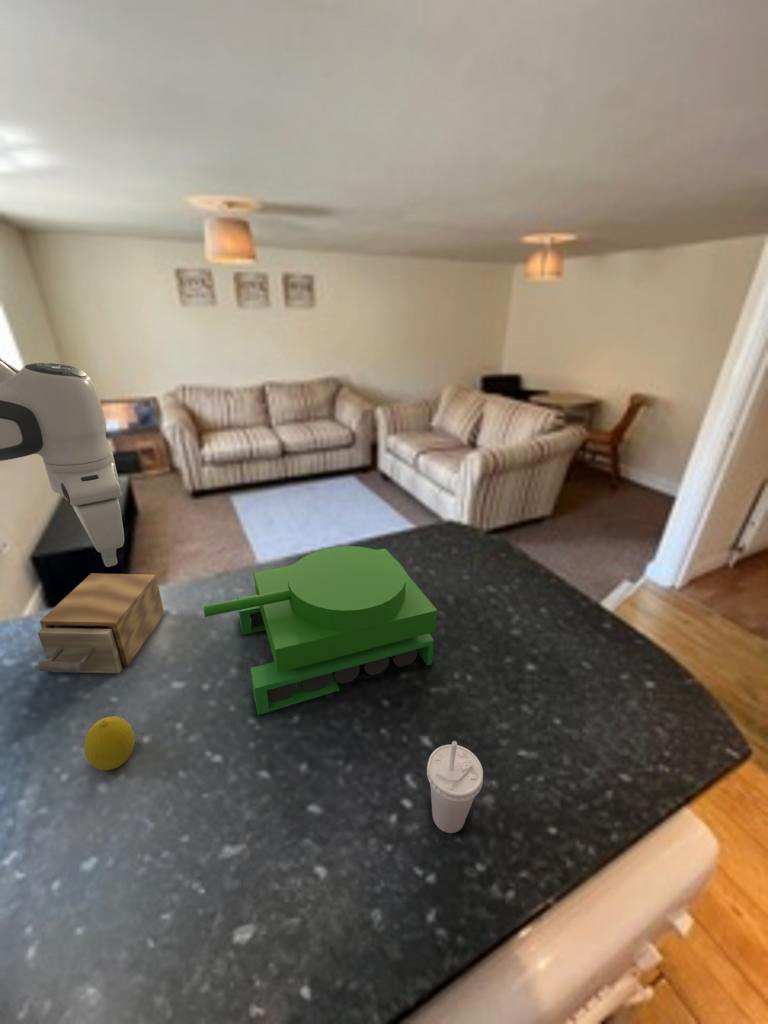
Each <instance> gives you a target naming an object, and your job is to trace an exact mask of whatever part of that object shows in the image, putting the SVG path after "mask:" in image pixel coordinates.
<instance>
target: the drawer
mask: <svg viewBox="0 0 768 1024" xmlns="http://www.w3.org/2000/svg"><path fill="white" fill-rule="evenodd" d="M54 627H55V628H42V627H41V629H39V631H37V635H38V637H39V640H40V643H41V646H42V648H43V651H44V654H45V657H46V659H47V660H43V661H41V662H40V663H39V666H38V669H39V671H40V672H51V673H78V674H79V673H83V674H84V673H87V674H88V673H89V674H120V672H121V671H122V670H123V664H122V660H121V656H120V652H119V649H118V645H117V642H116V638H115V634H114V631H113V627H112V626H72V625H54Z"/></svg>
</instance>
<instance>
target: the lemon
mask: <svg viewBox="0 0 768 1024" xmlns="http://www.w3.org/2000/svg"><path fill="white" fill-rule="evenodd" d="M135 743H136V740H135V732H134V730H133V728H132V726H131V725H130V723H129V722H128V721H127V720H126V719H124V718H122V717H120V716H116V715H115V716H113V715H112V716H106V717H103V718H101V719H99V720H98V721H96V722H95V723H93V725H92V726H91V727H90V728H89V730H88V731H87V733H86V736H85V739H84V753H85V757H86V759H87V761H88V762H89V764H90V765H91V766H92V767H94V768H95V769H97V770H100V771H111V770H115V769H117V768H119V767H121V766H122V765H123V764H125V763H126V762H127V761H128V759H129V758H130V757H131V755H132V753H133V752H134V749H135Z"/></svg>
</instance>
